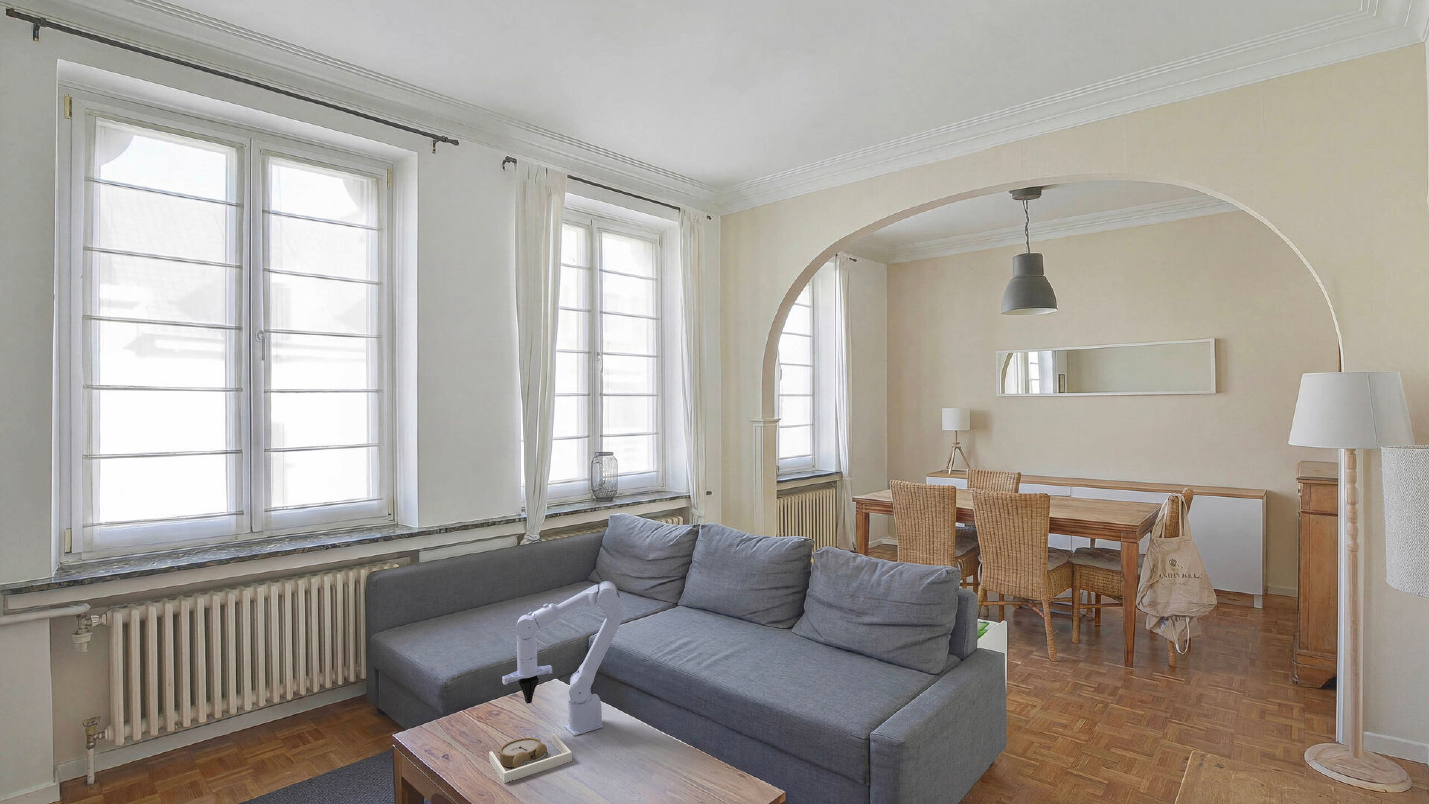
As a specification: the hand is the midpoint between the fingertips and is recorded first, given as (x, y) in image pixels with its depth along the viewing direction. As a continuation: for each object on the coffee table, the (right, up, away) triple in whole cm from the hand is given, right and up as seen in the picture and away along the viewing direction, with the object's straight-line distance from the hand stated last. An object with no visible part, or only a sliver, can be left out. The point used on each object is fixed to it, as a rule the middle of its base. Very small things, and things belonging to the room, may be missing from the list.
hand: (528, 702), depth 207 cm
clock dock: (+5, -9, -16) cm, 19 cm away
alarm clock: (+3, -10, -15) cm, 18 cm away
